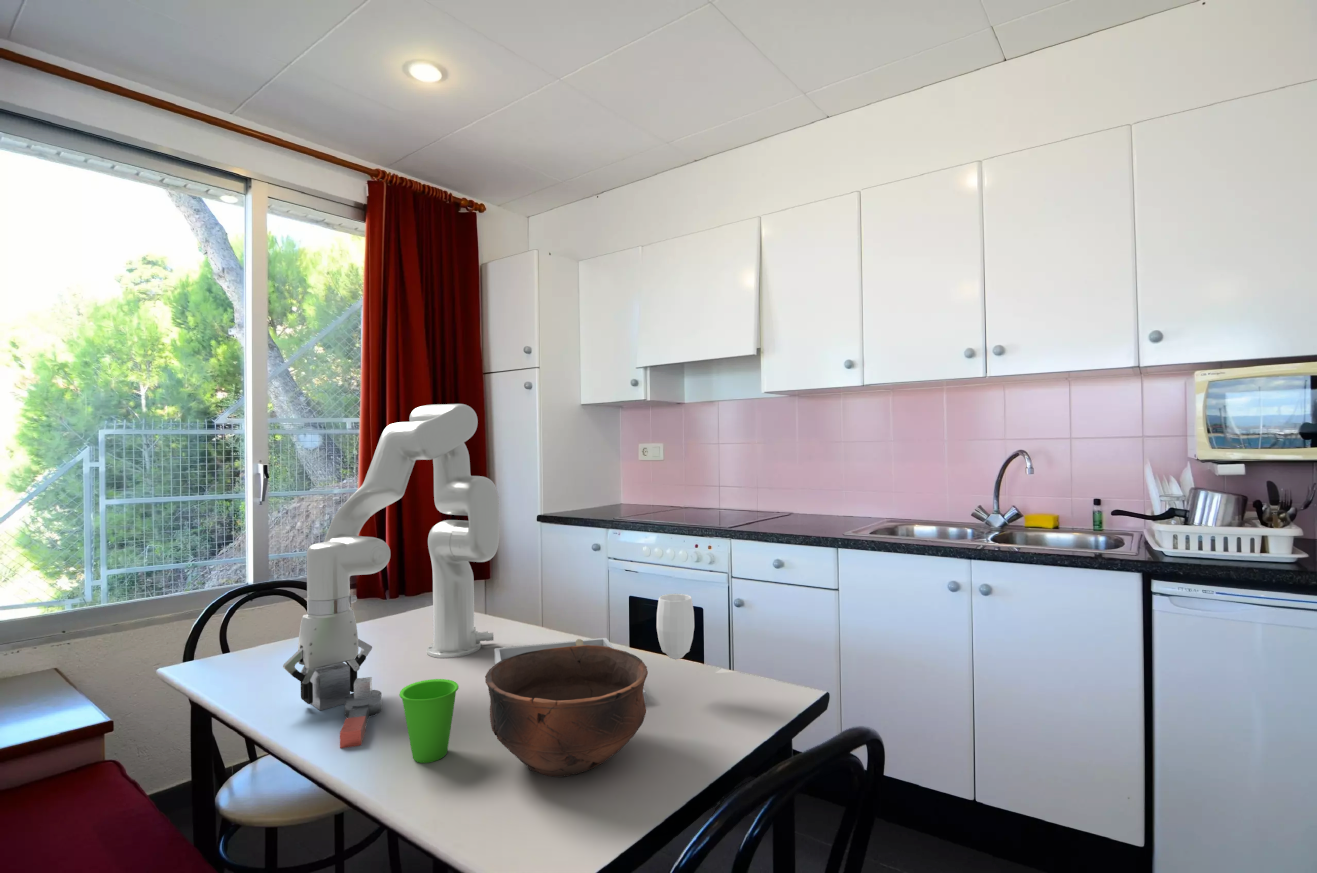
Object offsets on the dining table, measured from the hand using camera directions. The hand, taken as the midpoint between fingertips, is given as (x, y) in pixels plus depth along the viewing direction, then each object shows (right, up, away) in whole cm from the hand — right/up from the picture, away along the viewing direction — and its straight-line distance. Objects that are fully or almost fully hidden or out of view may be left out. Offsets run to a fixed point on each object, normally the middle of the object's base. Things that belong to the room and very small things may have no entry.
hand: (329, 695), depth 131 cm
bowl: (+50, -1, -26) cm, 57 cm away
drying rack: (+45, -1, +8) cm, 45 cm away
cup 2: (+68, -1, -4) cm, 68 cm away
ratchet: (+10, -1, -10) cm, 15 cm away
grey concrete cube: (0, -1, 0) cm, 1 cm away
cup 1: (+28, -1, -23) cm, 36 cm away
